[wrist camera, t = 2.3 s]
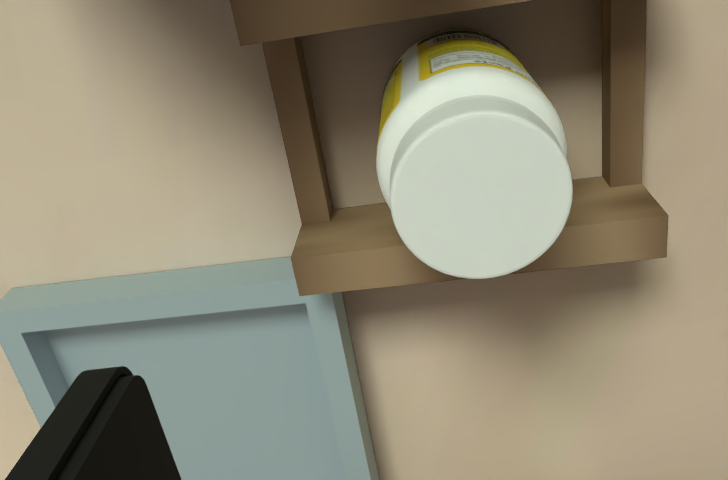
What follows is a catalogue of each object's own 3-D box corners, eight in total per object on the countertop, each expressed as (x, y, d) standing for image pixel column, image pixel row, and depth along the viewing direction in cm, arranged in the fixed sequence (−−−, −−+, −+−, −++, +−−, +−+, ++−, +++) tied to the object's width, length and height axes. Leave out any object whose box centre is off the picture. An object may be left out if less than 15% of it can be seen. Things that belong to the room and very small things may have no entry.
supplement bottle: (439, 194, 23) (454, 330, 16) (353, 91, 22) (324, 187, 14) (556, 111, 22) (634, 218, 14) (472, -7, 20) (509, 44, 13)
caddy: (637, -86, 19) (682, -85, 16) (631, 210, 23) (666, 257, 20) (255, -22, 21) (227, -9, 17) (313, 247, 25) (299, 296, 22)
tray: (333, 252, 25) (328, 275, 23) (383, 502, 30) (382, 535, 29) (11, 288, 26) (-15, 313, 25) (116, 519, 32) (100, 552, 30)
